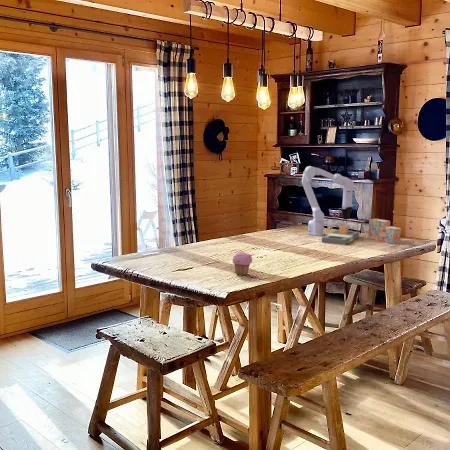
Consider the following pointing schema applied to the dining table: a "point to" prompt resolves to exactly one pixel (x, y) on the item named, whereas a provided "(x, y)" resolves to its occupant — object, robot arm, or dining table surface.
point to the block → (343, 229)
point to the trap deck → (340, 237)
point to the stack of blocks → (384, 231)
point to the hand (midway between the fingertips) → (346, 219)
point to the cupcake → (242, 263)
